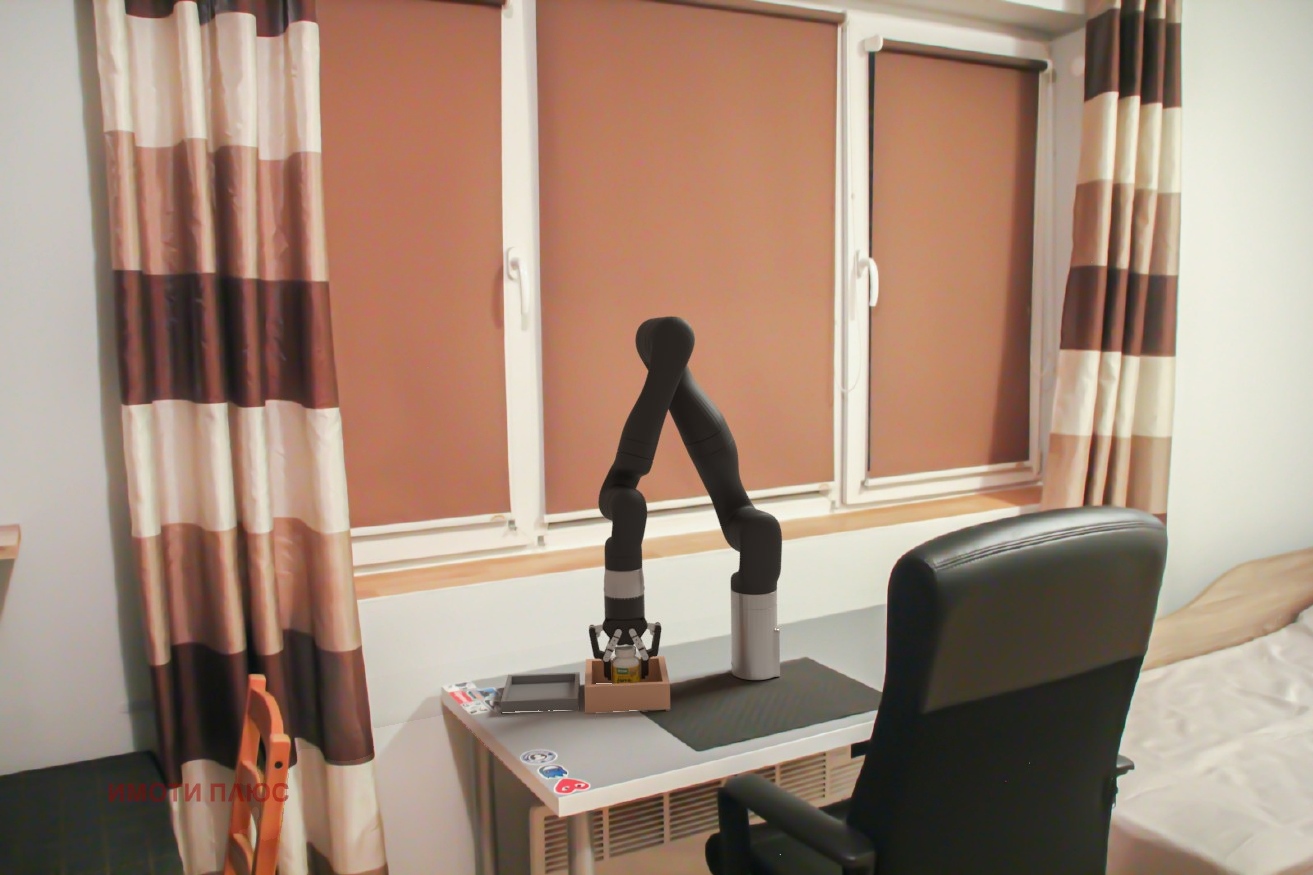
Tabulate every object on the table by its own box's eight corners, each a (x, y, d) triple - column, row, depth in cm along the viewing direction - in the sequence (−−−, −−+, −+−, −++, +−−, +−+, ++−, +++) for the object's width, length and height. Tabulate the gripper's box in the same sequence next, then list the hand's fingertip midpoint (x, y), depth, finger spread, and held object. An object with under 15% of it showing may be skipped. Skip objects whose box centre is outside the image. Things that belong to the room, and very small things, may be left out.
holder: (664, 680, 189) (664, 656, 188) (670, 710, 174) (669, 683, 173) (586, 683, 188) (585, 659, 188) (585, 713, 173) (584, 687, 172)
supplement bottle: (639, 690, 184) (638, 642, 183) (642, 700, 179) (641, 650, 178) (611, 692, 183) (610, 643, 182) (613, 702, 178) (612, 652, 177)
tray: (580, 683, 188) (579, 672, 188) (578, 710, 174) (578, 698, 174) (508, 686, 188) (508, 675, 187) (501, 713, 174) (500, 701, 173)
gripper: (661, 585, 183) (662, 670, 185) (585, 587, 182) (588, 673, 184) (663, 595, 176) (665, 684, 177) (585, 597, 175) (587, 687, 176)
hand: (626, 678), depth 181 cm, fingers open, 5 cm apart
